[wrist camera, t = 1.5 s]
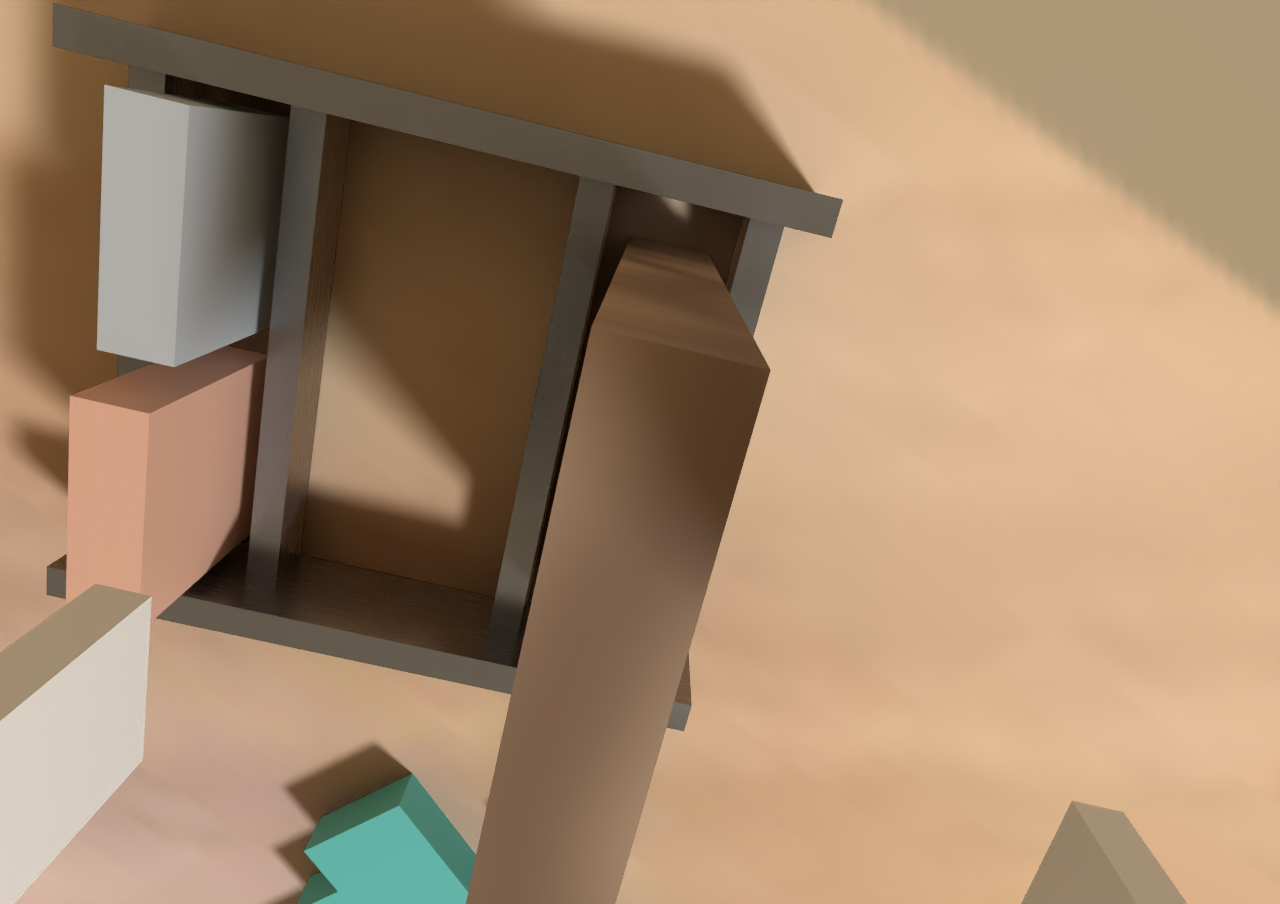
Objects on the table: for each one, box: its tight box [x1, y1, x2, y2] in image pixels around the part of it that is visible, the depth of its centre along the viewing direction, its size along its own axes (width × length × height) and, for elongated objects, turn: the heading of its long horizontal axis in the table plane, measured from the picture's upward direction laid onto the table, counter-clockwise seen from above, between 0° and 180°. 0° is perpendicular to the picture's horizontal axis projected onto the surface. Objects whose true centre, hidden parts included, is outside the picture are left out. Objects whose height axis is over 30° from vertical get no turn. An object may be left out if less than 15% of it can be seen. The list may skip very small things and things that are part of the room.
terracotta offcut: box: [66, 346, 267, 622], centre depth 26 cm, size 2×6×7 cm, turn 167°
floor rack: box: [47, 3, 843, 731], centre depth 26 cm, size 20×17×4 cm
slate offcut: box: [97, 85, 290, 367], centre depth 24 cm, size 2×6×6 cm, turn 167°
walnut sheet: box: [466, 236, 770, 904], centre depth 21 cm, size 2×12×16 cm, turn 167°
